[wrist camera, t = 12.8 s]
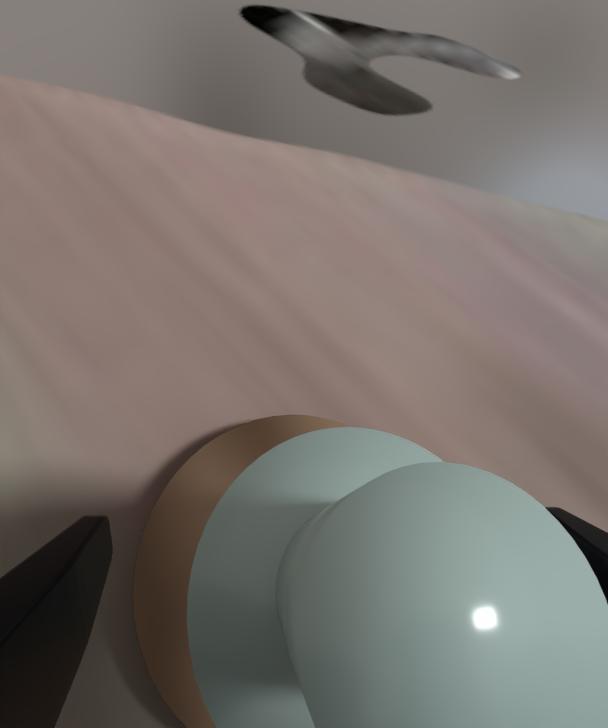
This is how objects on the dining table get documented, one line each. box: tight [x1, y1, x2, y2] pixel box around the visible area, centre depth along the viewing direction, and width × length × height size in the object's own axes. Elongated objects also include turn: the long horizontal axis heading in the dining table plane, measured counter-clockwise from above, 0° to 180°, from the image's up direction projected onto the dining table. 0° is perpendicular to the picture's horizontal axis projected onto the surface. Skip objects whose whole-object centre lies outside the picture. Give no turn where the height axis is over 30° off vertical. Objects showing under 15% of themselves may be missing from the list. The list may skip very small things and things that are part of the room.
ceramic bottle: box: [187, 427, 608, 728], centre depth 10 cm, size 5×5×14 cm
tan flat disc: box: [133, 415, 349, 728], centre depth 17 cm, size 12×12×1 cm
